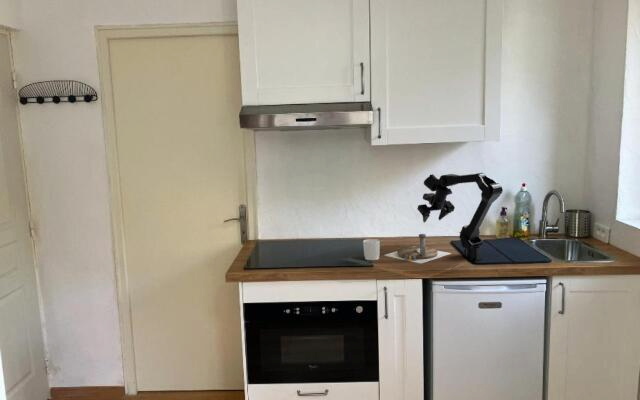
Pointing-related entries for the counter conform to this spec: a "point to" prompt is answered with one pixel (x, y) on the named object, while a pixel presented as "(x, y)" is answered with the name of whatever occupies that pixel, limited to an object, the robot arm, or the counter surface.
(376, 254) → the white cup
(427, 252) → the dial
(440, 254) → the base
